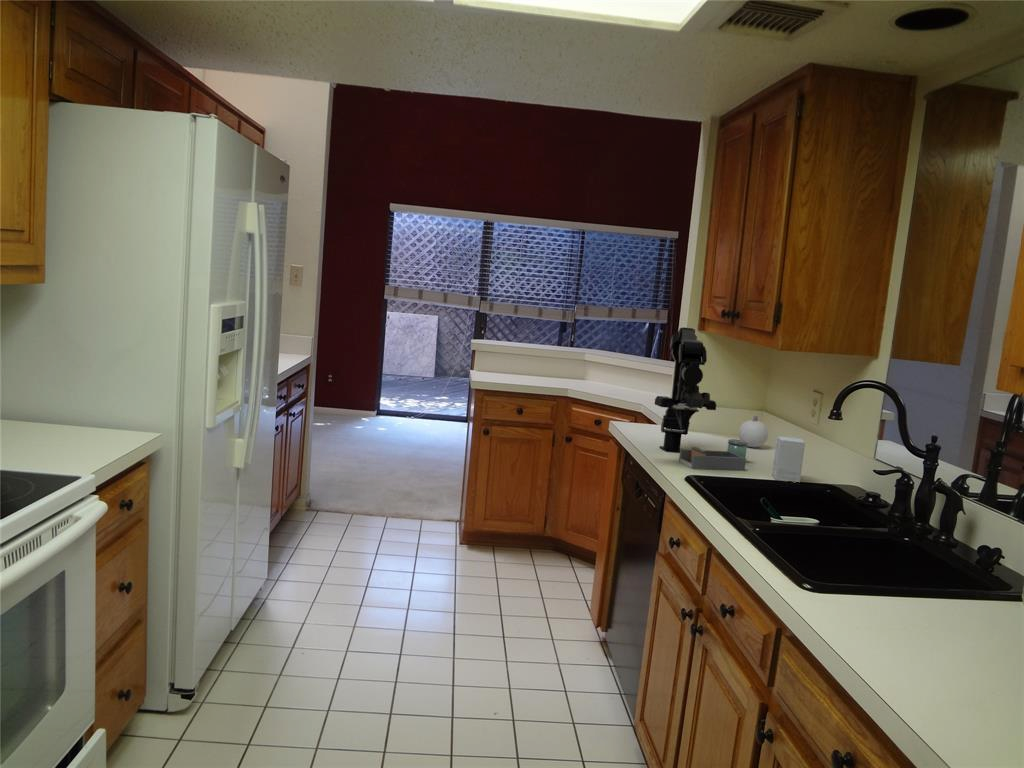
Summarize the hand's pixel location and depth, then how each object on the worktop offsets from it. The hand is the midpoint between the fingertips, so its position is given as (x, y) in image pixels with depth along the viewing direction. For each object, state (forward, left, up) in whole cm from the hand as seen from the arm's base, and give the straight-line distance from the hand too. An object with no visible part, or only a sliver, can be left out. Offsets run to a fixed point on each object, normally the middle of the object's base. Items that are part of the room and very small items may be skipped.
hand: (682, 429), depth 241 cm
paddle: (0, +6, -11) cm, 13 cm away
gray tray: (0, +11, -11) cm, 16 cm away
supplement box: (+14, +29, -12) cm, 35 cm away
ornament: (-34, +45, -12) cm, 58 cm away
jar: (-8, +24, -11) cm, 28 cm away
